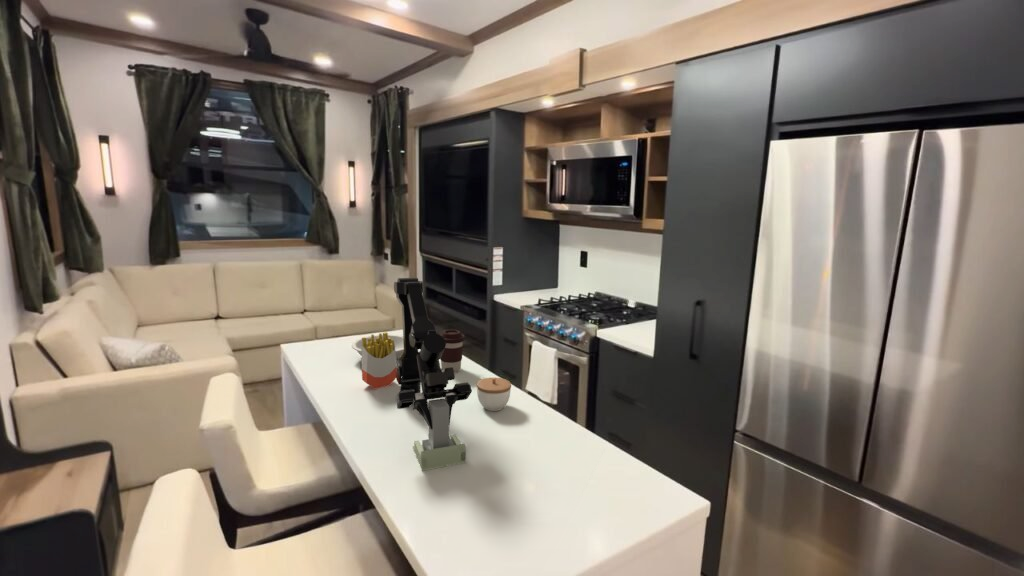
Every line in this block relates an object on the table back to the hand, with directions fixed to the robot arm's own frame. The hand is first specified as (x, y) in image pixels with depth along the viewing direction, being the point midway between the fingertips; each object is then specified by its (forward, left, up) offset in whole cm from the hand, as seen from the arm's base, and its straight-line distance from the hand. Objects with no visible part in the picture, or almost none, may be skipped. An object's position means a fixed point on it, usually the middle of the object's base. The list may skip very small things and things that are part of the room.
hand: (440, 427), depth 117 cm
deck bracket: (-1, -1, -8) cm, 8 cm away
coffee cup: (-54, -31, -8) cm, 63 cm away
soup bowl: (-51, -61, -8) cm, 80 cm away
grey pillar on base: (-1, -1, -7) cm, 7 cm away
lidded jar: (-33, -2, -8) cm, 34 cm away
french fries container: (-29, -44, -8) cm, 53 cm away
